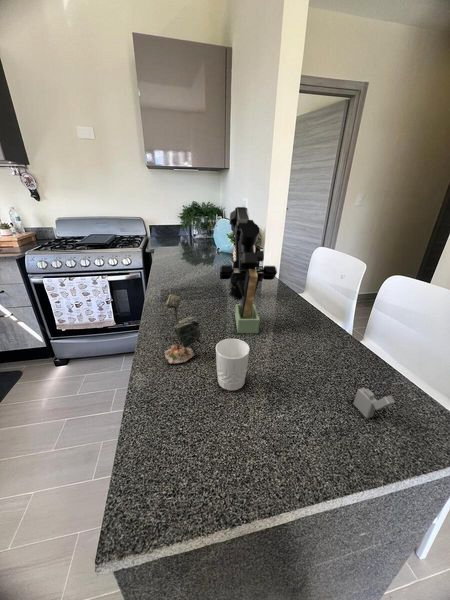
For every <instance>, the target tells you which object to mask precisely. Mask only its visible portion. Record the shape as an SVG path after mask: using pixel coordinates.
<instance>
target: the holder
mask: <svg viewBox="0 0 450 600" xmlns="http://www.w3.org/2000/svg"><path fill="white" fill-rule="evenodd" d="M234 310H235V314H234V318H235V319H234V320H235V325H236V332H237V334H259V332H260V331H259V330H260V320H261V319H260V317H259V314H258V311H257V308H256V304H255V303H253V305H252V310H251V315H250V318H247V317H241V303H238V304H237V303H236V304H235V309H234Z"/></svg>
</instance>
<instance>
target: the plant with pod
mask: <svg viewBox="0 0 450 600" xmlns="http://www.w3.org/2000/svg"><path fill="white" fill-rule="evenodd" d="M167 297H168V298H167V300H166V303H165V305H166V306H165V309H164V310H165V311H168V309H172V308H173V309H174V314H175V315H174V316H175V326H174V332H175V334H176V342H177V343H176V344H174V345H172V346H170V348H169V349H167V350H165V351H164V352H163V355H164V357H165V358H164V359H165V363H166V364H169V365H170V364H174V365H175V364H180V363H186V362H187V361H188V360H190V359H191V358H193V357H194V356H196V353H195V352H194V349H192V347H191V346H192V344H195V343H196V342H197V343H199V344H200V345H203V342H202V341H201V340H200V338H201V330H200V324H199V319H196V318H195V317H193V316H190V317H186V318H183V319H181V320H179V318H178V308H179V306H180V302H181V297H180V296H178V295H175V294H173V293H172V294H168V296H167ZM178 320H179V321H178ZM179 343H180V344H179Z"/></svg>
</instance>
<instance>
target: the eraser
mask: <svg viewBox="0 0 450 600" xmlns="http://www.w3.org/2000/svg"><path fill="white" fill-rule="evenodd" d="M256 269H257V268H256ZM256 269H247V271H246V277H245V283H244V297H243V296H242V298H241V303H240V304H241V317H247V318H250V315H251V310H252V305H253V304H254V298H255V296H254V294H255V295H256V293H255V289H256V283H257V278H258V276H257V272H256ZM256 290H257V289H256Z"/></svg>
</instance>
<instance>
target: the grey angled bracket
mask: <svg viewBox="0 0 450 600" xmlns="http://www.w3.org/2000/svg"><path fill="white" fill-rule="evenodd" d="M354 397H355V398H354V400H353V403H352V404H353V405H354V407H356V409H357V410H358V411H359V412H360V413H361V414H362V415H363V417H365V419H370V418H374V415H375V412H376V411H378V410H383V409H385V408H387V407H389V406H391V405H393V404H395V403H396V401H395V399H394V398H393V396H392V395H386V396H384V397H382V398H380V399H378V400H377V398H376V397H375V393H374V392H373V391H372V390H370V388H365V387H361V388H358V389H357V392H356V395H355V396H354Z"/></svg>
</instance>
